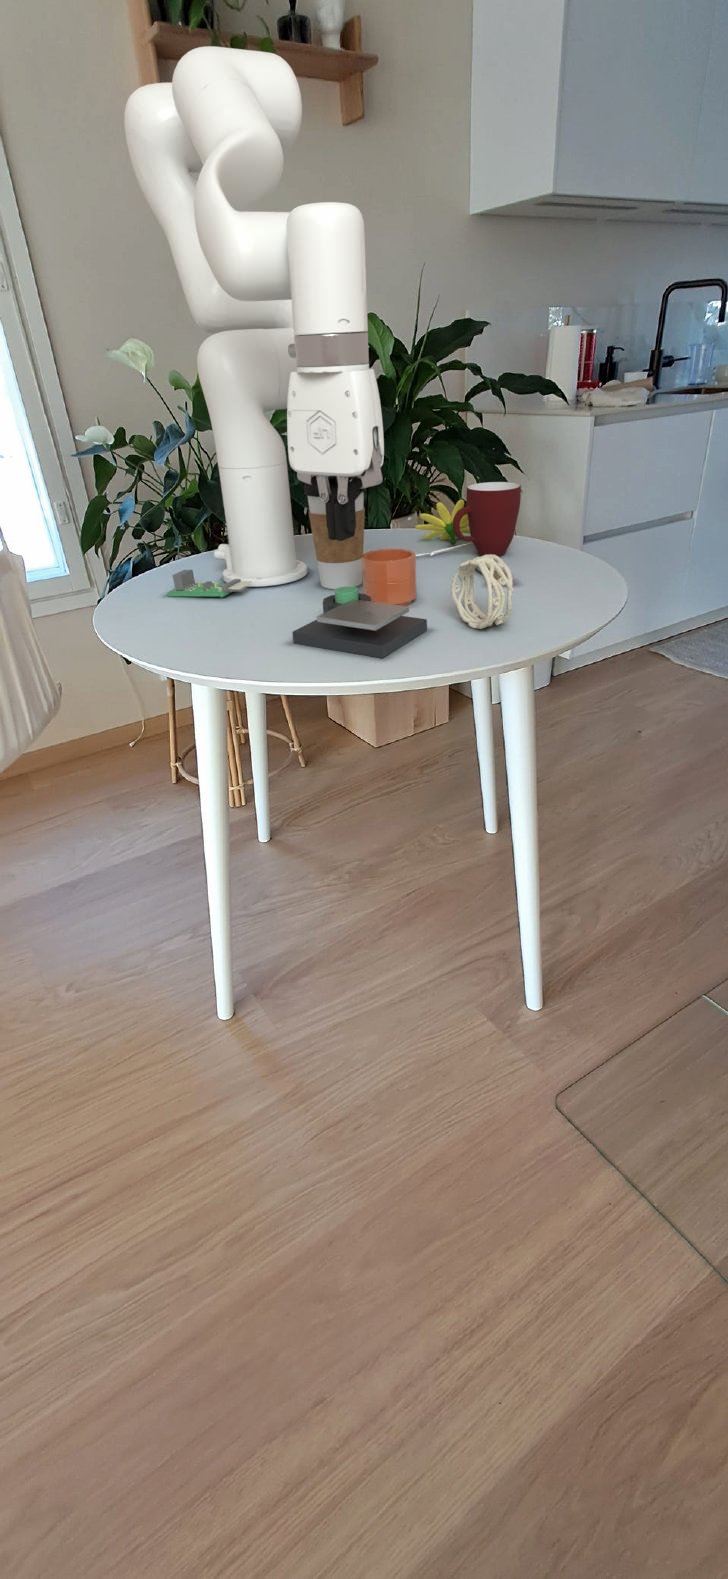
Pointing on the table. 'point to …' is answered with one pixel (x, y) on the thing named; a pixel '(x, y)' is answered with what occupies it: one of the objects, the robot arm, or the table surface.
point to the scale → (360, 634)
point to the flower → (444, 523)
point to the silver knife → (442, 550)
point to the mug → (490, 516)
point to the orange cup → (389, 576)
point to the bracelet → (491, 582)
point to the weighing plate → (363, 614)
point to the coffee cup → (336, 544)
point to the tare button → (346, 594)
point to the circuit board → (203, 586)
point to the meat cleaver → (494, 574)
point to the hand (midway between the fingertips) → (342, 537)
